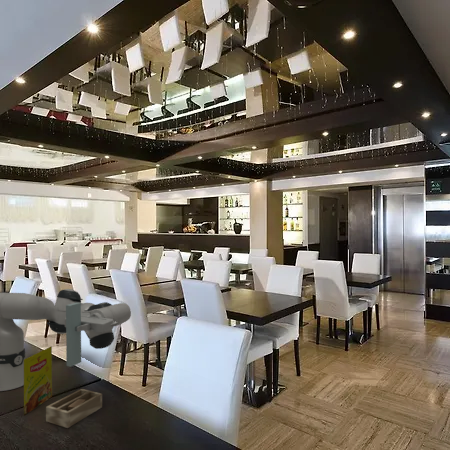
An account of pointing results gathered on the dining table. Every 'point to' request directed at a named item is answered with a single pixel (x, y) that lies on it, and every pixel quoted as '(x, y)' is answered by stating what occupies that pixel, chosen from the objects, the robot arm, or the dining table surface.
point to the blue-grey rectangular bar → (73, 334)
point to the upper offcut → (76, 404)
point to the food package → (37, 379)
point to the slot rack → (65, 418)
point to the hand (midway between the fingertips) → (72, 328)
